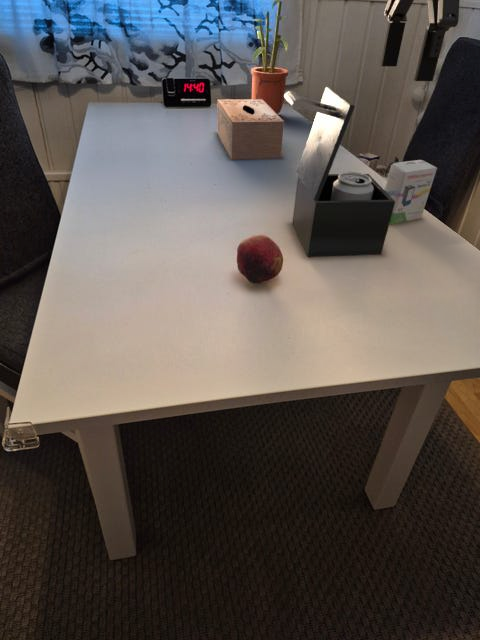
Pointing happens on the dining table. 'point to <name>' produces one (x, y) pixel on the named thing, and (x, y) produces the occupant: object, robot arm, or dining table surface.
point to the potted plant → (269, 68)
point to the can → (352, 187)
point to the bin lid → (321, 136)
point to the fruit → (259, 259)
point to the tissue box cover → (249, 129)
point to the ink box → (409, 188)
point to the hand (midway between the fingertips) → (404, 73)
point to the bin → (341, 221)
